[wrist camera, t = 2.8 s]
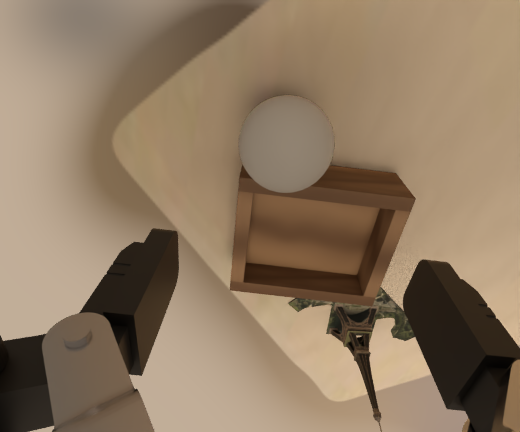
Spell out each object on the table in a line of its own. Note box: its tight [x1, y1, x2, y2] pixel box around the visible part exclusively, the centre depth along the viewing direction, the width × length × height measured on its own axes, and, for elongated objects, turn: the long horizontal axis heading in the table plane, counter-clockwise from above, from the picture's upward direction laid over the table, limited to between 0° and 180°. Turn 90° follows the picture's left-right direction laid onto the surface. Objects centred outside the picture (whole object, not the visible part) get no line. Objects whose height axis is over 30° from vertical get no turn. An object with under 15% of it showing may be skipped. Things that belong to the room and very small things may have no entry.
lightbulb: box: [239, 95, 335, 193], centre depth 23 cm, size 6×6×11 cm
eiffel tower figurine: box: [289, 287, 415, 432], centre depth 35 cm, size 15×10×13 cm
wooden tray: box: [230, 165, 415, 306], centre depth 31 cm, size 12×14×5 cm
